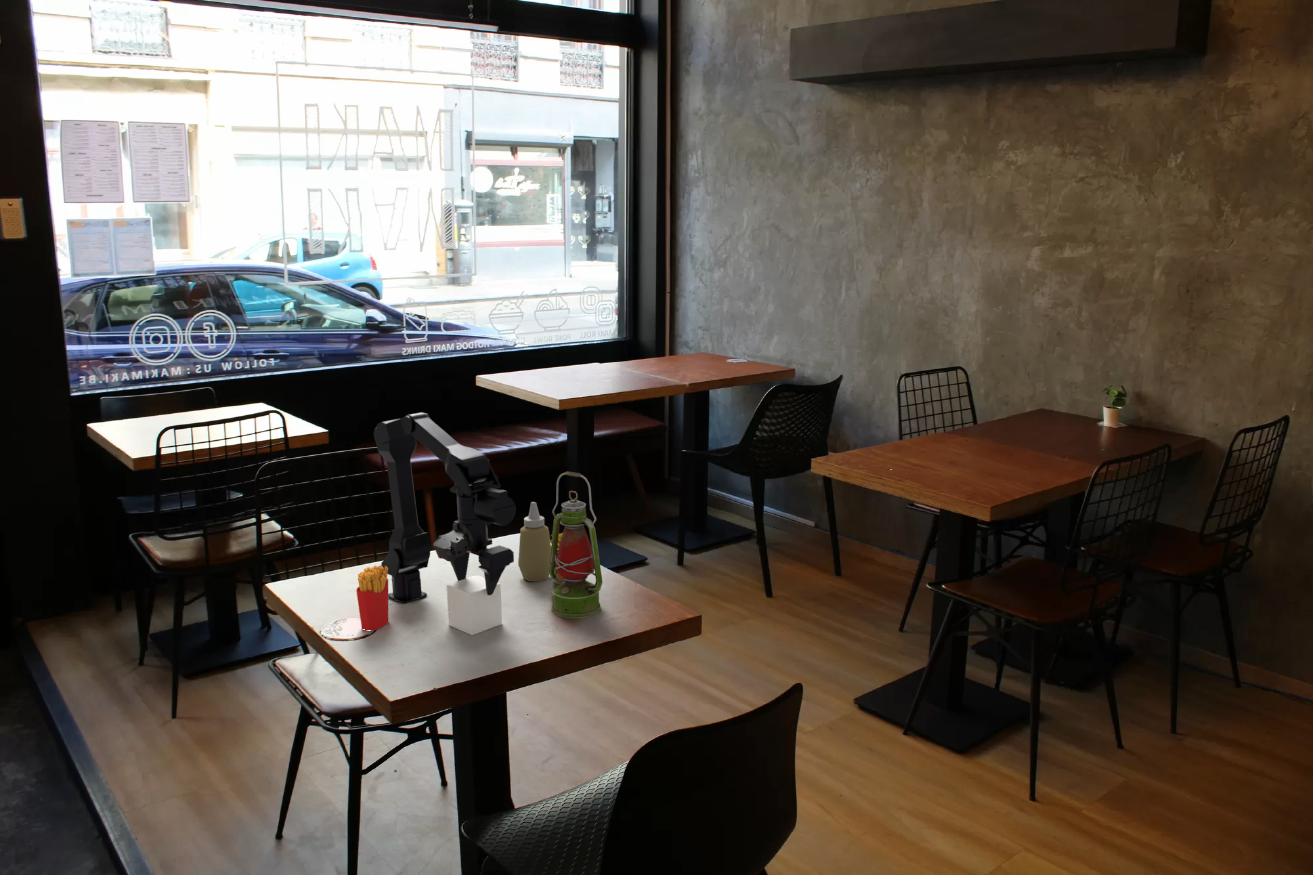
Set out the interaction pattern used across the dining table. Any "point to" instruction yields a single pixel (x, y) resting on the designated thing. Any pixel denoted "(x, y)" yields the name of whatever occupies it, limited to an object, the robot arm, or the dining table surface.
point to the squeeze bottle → (534, 547)
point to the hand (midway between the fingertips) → (475, 589)
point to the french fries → (373, 597)
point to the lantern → (575, 560)
